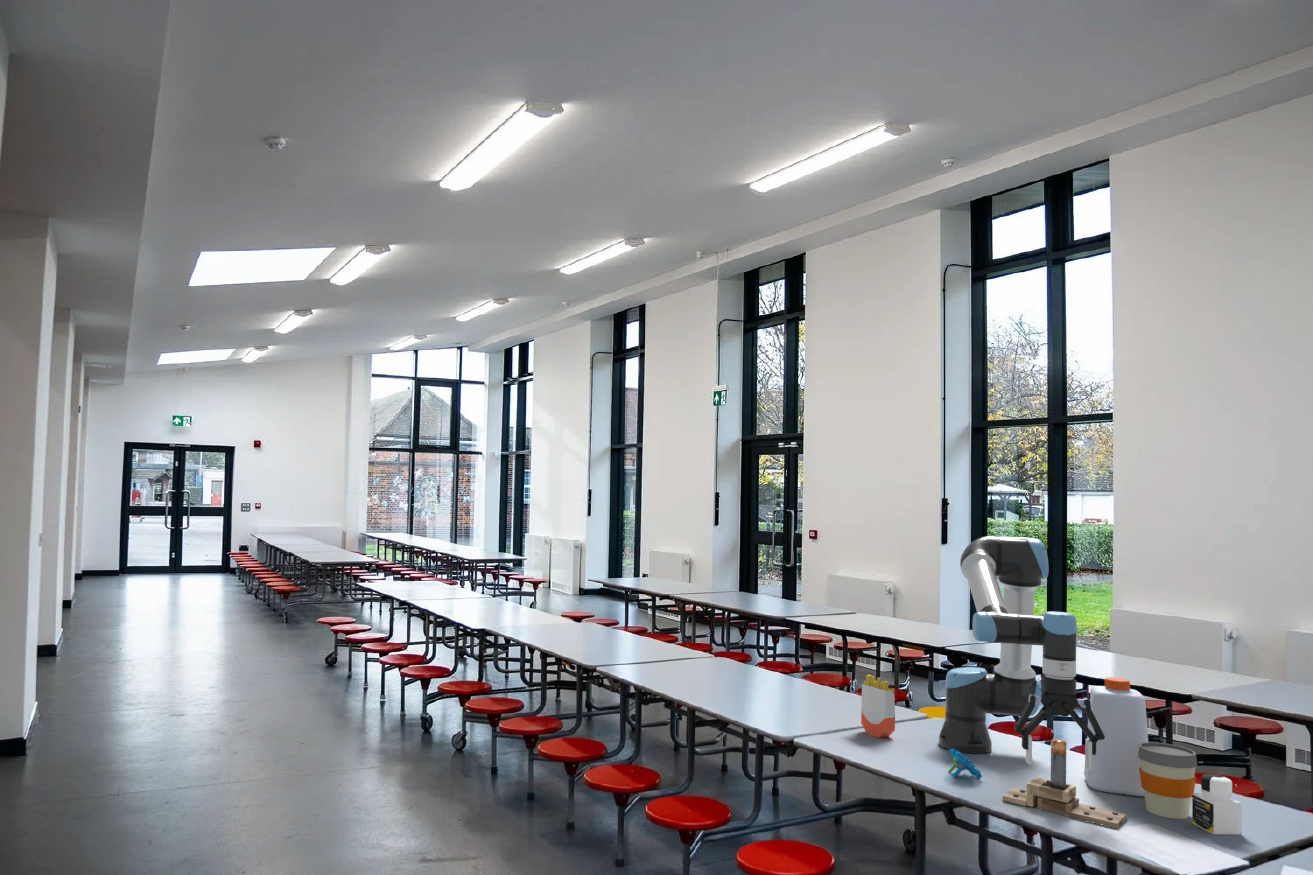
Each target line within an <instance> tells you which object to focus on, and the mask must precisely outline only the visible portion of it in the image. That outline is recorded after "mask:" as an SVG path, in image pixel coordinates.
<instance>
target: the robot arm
mask: <svg viewBox="0 0 1313 875" xmlns="http://www.w3.org/2000/svg"><path fill="white" fill-rule="evenodd" d="M1047 553H1048V552H1047V549H1046V547H1045V545H1044V543H1043V541H1042V540H1041V539H1038V538H1032V537H1025V536H1024V537H1023V536H1020V537H1019V536H994V535H988V536H982V537H979V538H977V539H975V540H973V541H972V542H970V543H969V544H968V545H967V546H966V547H965V549H964V550H963V552H962V554H961V556H960V563H959V566H960V570H961V573H962V575H963V577H964V578H965V579H967V582H968V585H969V588H970V593H971V595H972V599H973V602H974V606H975V610H976V612H975V613H974V614H973V616H972V624H971V625H972V626H971V627H972V636H973V638H974V639H975V640H976V641H978V642H985V643H990V644H991V643H995V644H997V643H998V644H1000V656H999V657H1000V658H999V663H998V664H996V665H995V666H994V670H993V673H988V671H987V670H986V668H983V667H975V666H974V667H973V666H965V667H956V668H952V669H950V670H948V671H947V673H946V676H945V685H944V687H945V708H944V710H945V714H944V715H945V716H944V717H945V718H944V721H943V724H942V726H941V730H940V732H939V735H938V745H939V746H940V747H942V748H945V749H947V750H950V749H953V748H954V749H955V750H956V751H959V752H960V753H966V752H969V753H968V754H985V753H986V752H987V753H990V752H992V748H993V747H992V739H991V736H990V732H989V729H988V726H987V722H986V721H987V720H986V719H987V718H986V717H987V714H994V715H1005V716H1015V717H1018V719H1017V721H1016V723H1015V725H1014V726H1013V730H1014V731H1015V733H1016V734H1020V735H1021V748H1022V749H1023V750H1025V762H1026V763H1027V764H1028V765H1033V737H1032V736H1031V733H1032V732H1033V731H1034V730H1035V729H1037V727H1038V726H1039V725H1040V724H1041V723H1042V722H1043V721H1044V720H1045V719H1046V718H1048V717H1049V715H1051V716H1053V717H1058V716H1061V717H1063V718H1064V717H1069V716H1070V717H1071V718H1072V719H1073V721H1074V722H1075V723H1076V724H1077V725H1078V727H1079V728H1080V729H1081V730H1082V731H1083V733H1084V734H1085V735H1086V737H1087V736H1088V737H1089V739H1087V738H1085V739H1084V740H1085V744H1084V748H1085V749H1084V756H1085V757H1084V758H1085V759H1084V768H1085V767H1086V768H1087V769H1088V770H1092V755H1096V742H1098V740H1103V739H1105V736H1104V734H1103V732H1102V730H1101V728H1100V726H1099V724H1098V722H1097V720H1096V718H1095V716H1094V714H1093V712H1092V710H1091V703H1090V699H1088V698H1087V697H1083V698H1077V680H1076V679H1075V677H1076V676H1077V632H1078V626H1077V618H1076V615H1075V614H1074V613H1071V612H1070V613H1069V612H1067V611H1066V612H1064V611H1053V610H1052V611H1051V610H1050V611H1045V612H1043V613H1042V614H1038V615H1036V614H1035V615H1034V613H1035V612H1034V611H1035V597H1036V596H1035V595H1036V594H1035V593H1036V590H1037V589H1038V588H1040V587H1041V586H1042V585H1041V584H1042V580H1045V579H1047V578H1048V576H1049V569H1050V568H1049V567H1050V566H1049V559H1048V554H1047ZM997 577H998V580H997ZM999 583H1000V584H1001V585H1002V586H1003V595H1002V591H1001V588H1000V585H999ZM1032 646H1042V668H1041V669H1042V674H1043V676H1042V682H1041V679H1040V678H1039V677H1038V676H1037V674H1036V673H1037V672H1035V670H1034V669H1033V668H1032V667H1031V666H1032V665H1031V663H1032V651H1033V649H1032ZM1041 704H1042V705H1043V706H1042V707H1041V708H1040V706H1041ZM1078 705H1079V706H1080V708H1082V709H1083V711H1084V713H1085V715H1086V717H1087V719H1089V721H1090V723H1091V725H1092V727H1093V729H1094V731H1095V733H1096V734H1093V733H1092V732H1091V731H1090V730H1089V728H1088V725H1087V724H1086V723H1085V722H1084V721H1083V720H1082V719H1081V718H1080V716H1079V715H1078V713H1077V712H1076V711H1075V709H1076V708H1077V706H1078ZM1039 708H1040V709H1039ZM1037 712H1038V713H1037ZM1034 715H1035V716H1034ZM1033 716H1034V717H1033ZM1030 717H1033V718H1032V719H1031V720H1029V718H1030ZM1028 720H1029V722H1028V723H1027V721H1028ZM1026 723H1027V724H1026ZM987 753H986V754H987Z"/></svg>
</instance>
